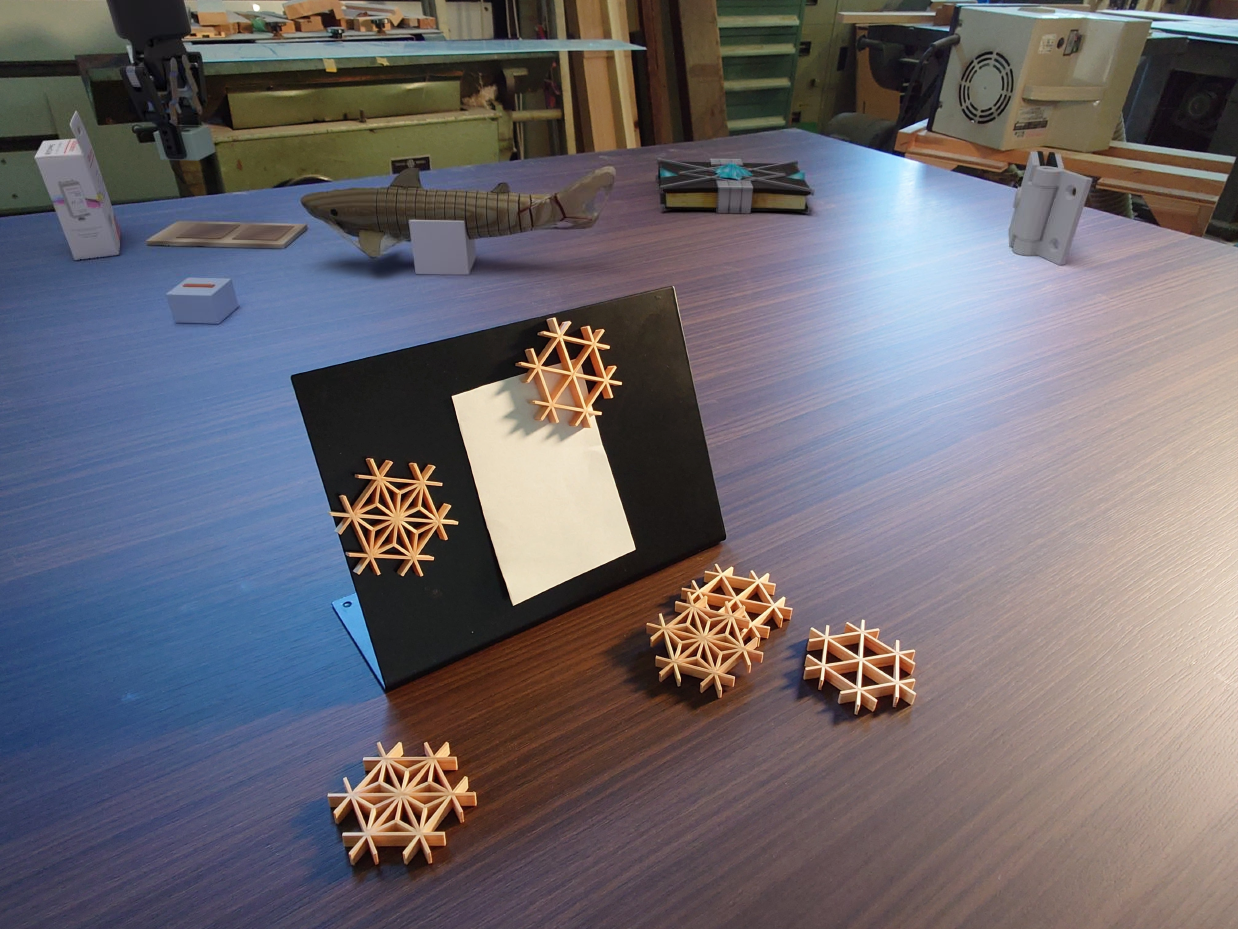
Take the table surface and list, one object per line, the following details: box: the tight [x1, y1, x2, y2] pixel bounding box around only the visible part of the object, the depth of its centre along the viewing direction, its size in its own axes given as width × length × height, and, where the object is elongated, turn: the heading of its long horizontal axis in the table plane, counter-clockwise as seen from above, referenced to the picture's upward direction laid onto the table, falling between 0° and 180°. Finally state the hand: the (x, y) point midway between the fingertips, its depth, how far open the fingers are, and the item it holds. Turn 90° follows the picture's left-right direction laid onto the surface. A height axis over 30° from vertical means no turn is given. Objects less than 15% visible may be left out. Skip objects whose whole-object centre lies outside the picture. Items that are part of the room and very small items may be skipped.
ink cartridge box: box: [34, 110, 122, 261], centre depth 94 cm, size 9×5×15 cm, turn 26°
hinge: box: [1008, 150, 1094, 266], centre depth 100 cm, size 14×5×10 cm, turn 171°
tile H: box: [152, 124, 217, 161], centre depth 95 cm, size 4×4×3 cm
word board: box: [145, 220, 309, 250], centre depth 101 cm, size 17×8×1 cm, turn 88°
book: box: [655, 157, 816, 215], centre depth 118 cm, size 22×17×5 cm
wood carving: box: [300, 165, 617, 276], centre depth 91 cm, size 9×35×11 cm, turn 91°
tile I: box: [165, 277, 239, 325], centre depth 81 cm, size 4×4×3 cm
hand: (187, 152), depth 96 cm, fingers closed on tile H, 4 cm apart
